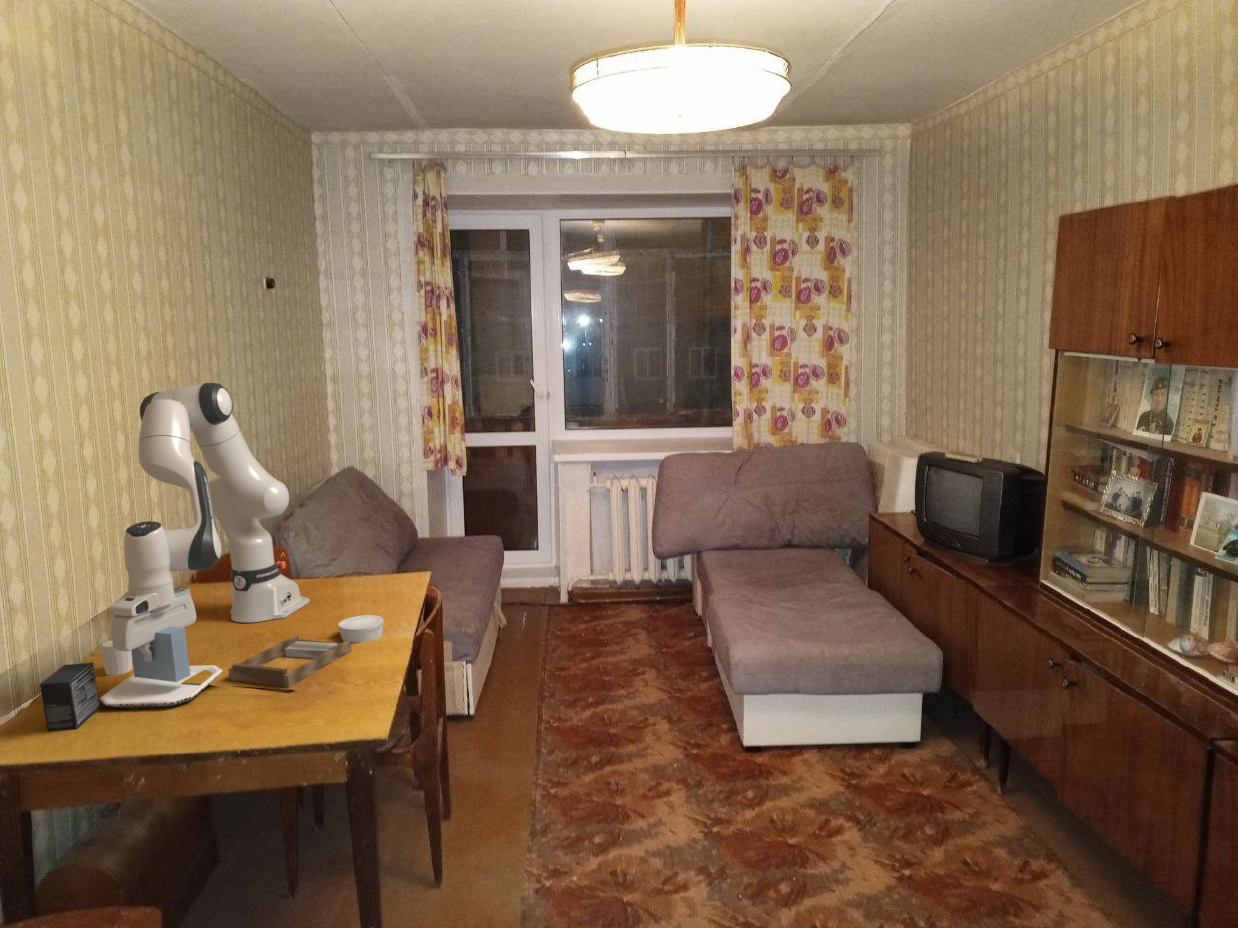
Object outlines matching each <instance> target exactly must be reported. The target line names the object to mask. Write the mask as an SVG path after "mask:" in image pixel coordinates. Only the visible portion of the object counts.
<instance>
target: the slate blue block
mask: <svg viewBox="0 0 1238 928" xmlns="http://www.w3.org/2000/svg"><path fill="white" fill-rule="evenodd" d="M187 642H188V641H187V635H186V627H184V628H179V627H168V628H165V629H163V630H160V631H158V632H156V640H154V641H151V642H150V647H148V648H149V650H150V651H151V652H155V658H156V659H155V660H153V661H151V662H146V661H145V660H144V654H143V653H142V652H141V651H140V650H139V649H138V647H137V648H135V649H133V650H131V653H132V669H133V674H134V676H135V677H140V678H147V679H155V680H163V681H171V682H178V681H180V680H182V679H184V678H186V677H188V676H190V667H189V666H190V660H189V652H188V644H187Z"/></svg>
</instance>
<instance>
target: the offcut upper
mask: <svg viewBox="0 0 1238 928" xmlns="http://www.w3.org/2000/svg"><path fill="white" fill-rule="evenodd" d="M337 643H338V642H333V643H320V642H301V641H296V642H295V643H293V644H292V645H290V646H288V647H287V648H285V653H286V654H285V657H286V658H300V659H301V658H302V659H303V658H304V659H305V658H306V659H314V658H316V657H318V656H320V655H321V654H323V653H325V652H327V651H329V650H330V649H332V648H334V647H336V646H338V644H337Z"/></svg>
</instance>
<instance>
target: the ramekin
mask: <svg viewBox="0 0 1238 928" xmlns="http://www.w3.org/2000/svg"><path fill="white" fill-rule="evenodd" d="M384 621H385V620H384V618H383V617H382V616H380V615H376V614H375V615H374V614H365V615H363V614H362V615H357V616H351V617H348V618H346V619H343V620H341V621H340V622H338V624H337V629H338V630H339V635H340V638H341V640H342V641H343V642H345V641H350V642H351V644H352V643H353V644H361V643H367V642H371V641H374V640H376V639H379V638H380V637H382V636H383V628H384V623H385V622H384Z"/></svg>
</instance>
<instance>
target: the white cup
mask: <svg viewBox="0 0 1238 928" xmlns="http://www.w3.org/2000/svg"><path fill="white" fill-rule="evenodd" d="M98 647H99V651H100V655H101V660H102V663H103V664H102V665H103V668H104V673H105V674H106V675H107V676H118V675H122V674H127V673H128V672H130V671H132V670H133V660H132V653H131V650H130V651H118V650H116V649H115V648H114V647H113V644H112V639H110V640H106V641H103V642H101V643H100V644H99V645H98Z"/></svg>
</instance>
